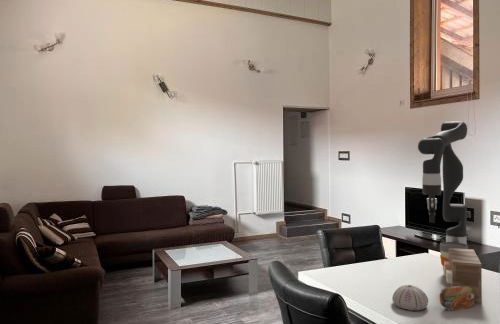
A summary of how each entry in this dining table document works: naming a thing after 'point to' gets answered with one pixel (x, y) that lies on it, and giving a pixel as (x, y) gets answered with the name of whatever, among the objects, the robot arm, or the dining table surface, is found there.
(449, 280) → the cream key
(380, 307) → the dining table surface
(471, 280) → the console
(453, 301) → the tin
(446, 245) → the reusable coffee cup
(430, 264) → the dining table surface
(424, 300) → the sea urchin shell
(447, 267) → the terracotta key
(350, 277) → the dining table surface
